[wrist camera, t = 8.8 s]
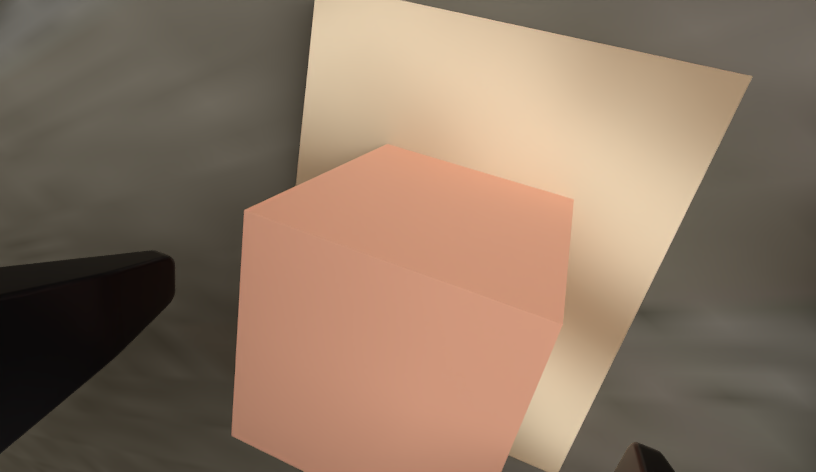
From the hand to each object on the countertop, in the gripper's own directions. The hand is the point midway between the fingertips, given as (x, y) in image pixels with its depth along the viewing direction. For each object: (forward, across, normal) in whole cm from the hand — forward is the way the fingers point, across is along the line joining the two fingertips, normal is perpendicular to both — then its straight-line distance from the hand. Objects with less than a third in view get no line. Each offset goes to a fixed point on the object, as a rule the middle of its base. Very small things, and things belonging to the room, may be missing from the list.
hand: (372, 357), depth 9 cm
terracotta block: (+5, 0, 0) cm, 5 cm away
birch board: (+6, 0, 0) cm, 6 cm away
